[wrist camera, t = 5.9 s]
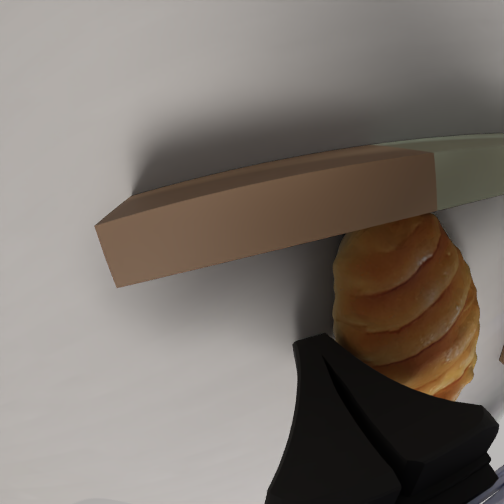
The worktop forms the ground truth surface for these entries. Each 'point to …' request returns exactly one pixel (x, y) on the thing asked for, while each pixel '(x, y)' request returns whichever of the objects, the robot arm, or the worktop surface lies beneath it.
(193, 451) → the worktop surface
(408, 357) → the pastry
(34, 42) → the worktop surface
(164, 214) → the two-tone corner bracket
